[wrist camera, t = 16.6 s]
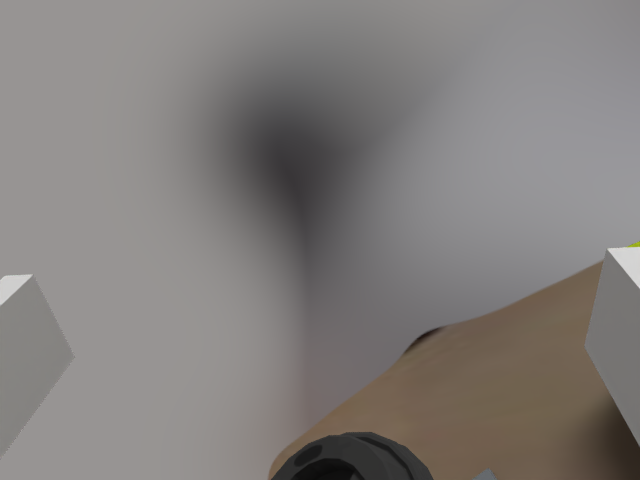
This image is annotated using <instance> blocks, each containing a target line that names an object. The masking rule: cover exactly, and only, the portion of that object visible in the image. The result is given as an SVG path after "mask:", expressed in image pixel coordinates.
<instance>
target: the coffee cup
mask: <svg viewBox="0 0 640 480" xmlns="http://www.w3.org/2000/svg"><path fill="white" fill-rule="evenodd" d="M271 480H433V478H432V476H431V474H430V472H429V470H428V468H427V467H426V466H425V465H424V464H423V463H422V462H421V461H420V460H419V459H418V458H417V457H416V456H415V455H414V454H413V453H412V452H411V451H410V450H409V449H408V448H407V447H405V446H403V445H400V444H398V443H397V442H395V441H392V440H390V439H387V438H385V437H382V436H380V435H377V434H375V433H372V432H349V433H344V434H341V435H329V436H327V437H324V438H321V439H319V440H316V441H314V442H311V443H308V444H307V445H306V446H304V447H303V448H302V449H301V450H299V451H298V452H297V453H295V454H294V455H293V456H291V457H290V458H289V459H288V460H287V461H286V462H285V464H284V465H283V466H282V467H281V468H280V469H279V471H278V472H277V473H276V474H275V475H274V477H273V478H272V479H271Z"/></svg>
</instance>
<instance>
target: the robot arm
mask: <svg viewBox="0 0 640 480" xmlns="http://www.w3.org/2000/svg"><path fill="white" fill-rule="evenodd" d="M584 347H585V349H586V351H587V353H588V355H589V356H590V358H591V360H592V362H593V364H594V365H595V367H596V369H597V371H598V373H599V374H600V376H601V378H602V380H603V382H604V383H605V385H606V387H607V389H608V391H609V392H610V394H611V396H612V398H613V400H614V401H615V403H616V405H617V407H618V409H619V410H620V412H621V414H622V416H623V418H624V419H625V421H626V423H627V425H628V427H629V428H630V430H631V432H632V434H633V436H634V437H635V439H636V441H637V443H638V445H639V446H640V247H628V248H608V249H607V250H606V254H605V258H604V262H603V267H602V271H601V276H600V280H599V284H598V289H597V293H596V297H595V302H594V306H593V311H592V315H591V319H590V324H589V328H588V332H587V337H586V341H585V346H584ZM74 358H75V356H74V354H73V352H72V350H71V348H70V346H69V344H68V342H67V340H66V339H65V336H64V334H63V332H62V330H61V328H60V326H59V324H58V322H57V320H56V318H55V316H54V314H53V312H52V311H51V308H50V307H49V304H48V302H47V300H46V298H45V297H44V295H43V293H42V291H41V289H40V287H39V285H38V283H37V281H36V279H35V277H34V275H14V276H13V275H12V276H5V277H3V278H2V279H1V280H0V459H1V458H2V456H3V455H4V454H5V452H6V451H7V450H8V448H9V447H10V445H11V444H12V443H13V441H14V440H15V439H16V437H17V436H18V435H19V433H20V432H21V430H22V429H23V428H24V426H25V425H26V423H27V422H28V421H29V420H30V418H31V417H32V415H33V414H34V413H35V411H36V410H37V409H38V407H39V406H40V404H41V403H42V402H43V400H44V399H45V398H46V396H47V395H48V394H49V392H50V391H51V389H52V388H53V387H54V385H55V384H56V383H57V381H58V380H59V379H60V377H61V376H62V374H63V373H64V372H65V370H66V369H67V368H68V366H69V365H70V363H71V362H72V360H73V359H74Z"/></svg>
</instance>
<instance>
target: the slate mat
mask: <svg viewBox="0 0 640 480" xmlns="http://www.w3.org/2000/svg"><path fill="white" fill-rule="evenodd" d="M472 480H497V479H496V477H495V476H494V474H493V472H492V471H491V470H490V469H489V468H488V469H486V470H485V471H483V472H482V473H480V474H479V475H478V476H476V477H475V478H473V479H472Z"/></svg>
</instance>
